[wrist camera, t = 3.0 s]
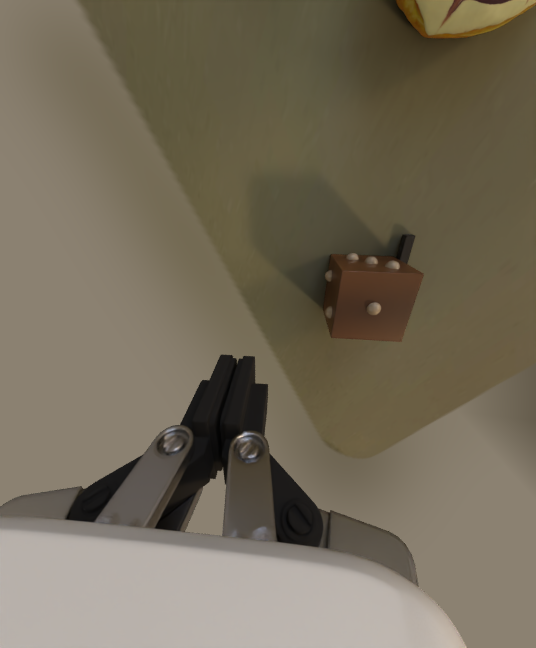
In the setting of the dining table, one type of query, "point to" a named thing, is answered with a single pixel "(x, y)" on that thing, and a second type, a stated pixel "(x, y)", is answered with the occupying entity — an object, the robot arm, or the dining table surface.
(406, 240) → the stop strip
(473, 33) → the decorated donut
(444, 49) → the dining table surface
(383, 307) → the die
